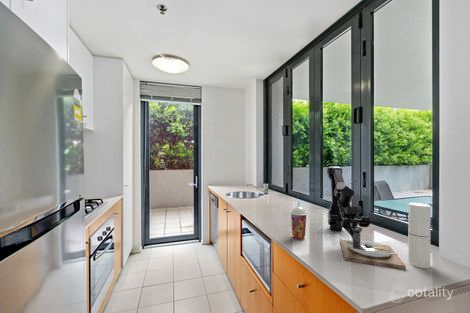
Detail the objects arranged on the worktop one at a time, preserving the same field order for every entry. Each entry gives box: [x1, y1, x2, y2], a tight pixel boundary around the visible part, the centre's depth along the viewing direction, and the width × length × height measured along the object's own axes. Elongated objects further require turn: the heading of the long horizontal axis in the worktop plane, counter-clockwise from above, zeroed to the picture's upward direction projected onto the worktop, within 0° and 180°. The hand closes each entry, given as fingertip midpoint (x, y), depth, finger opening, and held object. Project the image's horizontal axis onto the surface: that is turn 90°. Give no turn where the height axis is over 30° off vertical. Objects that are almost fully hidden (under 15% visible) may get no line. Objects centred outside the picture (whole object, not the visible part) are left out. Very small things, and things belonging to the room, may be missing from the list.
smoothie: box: [290, 201, 308, 241], centre depth 122 cm, size 8×8×20 cm
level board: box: [339, 238, 407, 271], centre depth 102 cm, size 22×22×2 cm
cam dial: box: [348, 226, 391, 258], centre depth 102 cm, size 17×17×10 cm
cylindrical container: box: [407, 202, 432, 269], centre depth 93 cm, size 7×7×25 cm
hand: (353, 237), depth 103 cm, fingers closed, pressing on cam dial
